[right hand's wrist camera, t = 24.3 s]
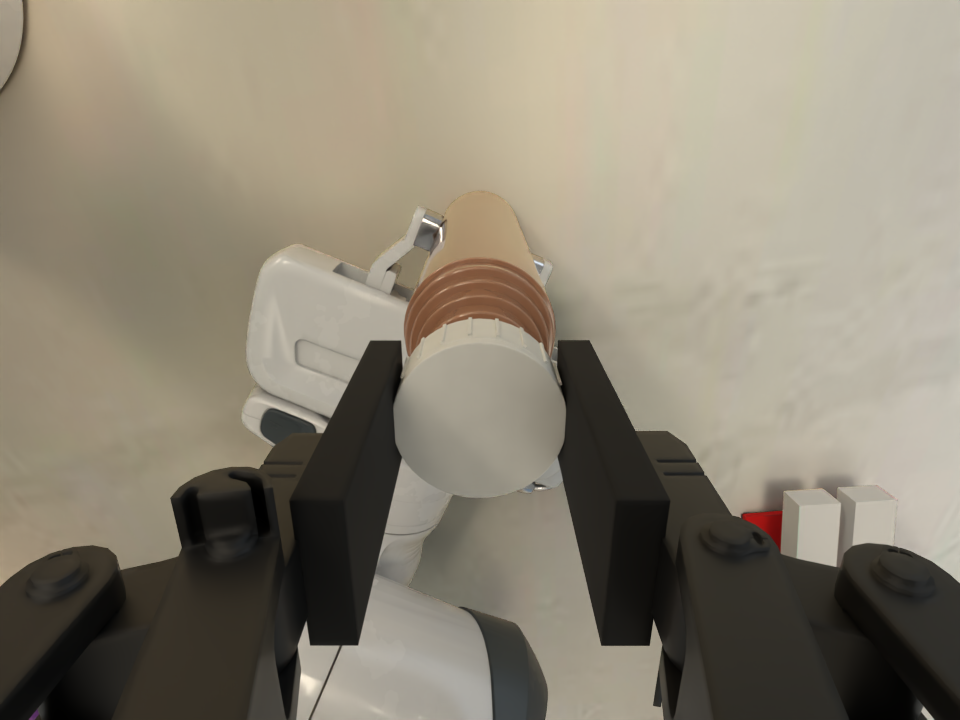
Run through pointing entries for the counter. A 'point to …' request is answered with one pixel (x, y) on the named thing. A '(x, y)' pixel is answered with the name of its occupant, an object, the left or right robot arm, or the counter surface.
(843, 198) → the counter surface
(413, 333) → the bottle
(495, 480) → the cap
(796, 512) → the toy
